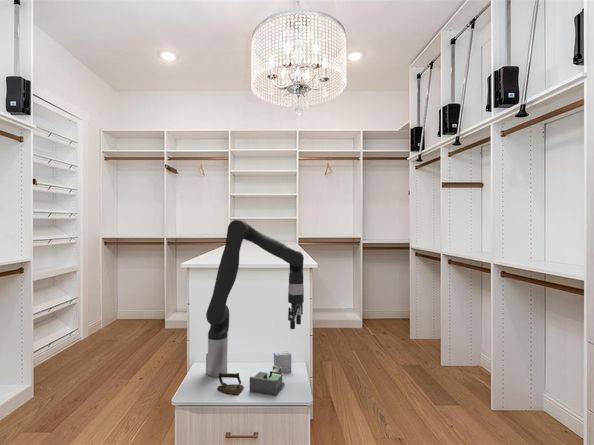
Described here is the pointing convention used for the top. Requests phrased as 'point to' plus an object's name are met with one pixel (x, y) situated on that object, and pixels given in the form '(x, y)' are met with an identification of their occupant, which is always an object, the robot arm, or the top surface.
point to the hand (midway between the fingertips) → (295, 326)
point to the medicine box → (283, 361)
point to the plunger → (275, 370)
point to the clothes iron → (231, 388)
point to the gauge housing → (266, 384)
